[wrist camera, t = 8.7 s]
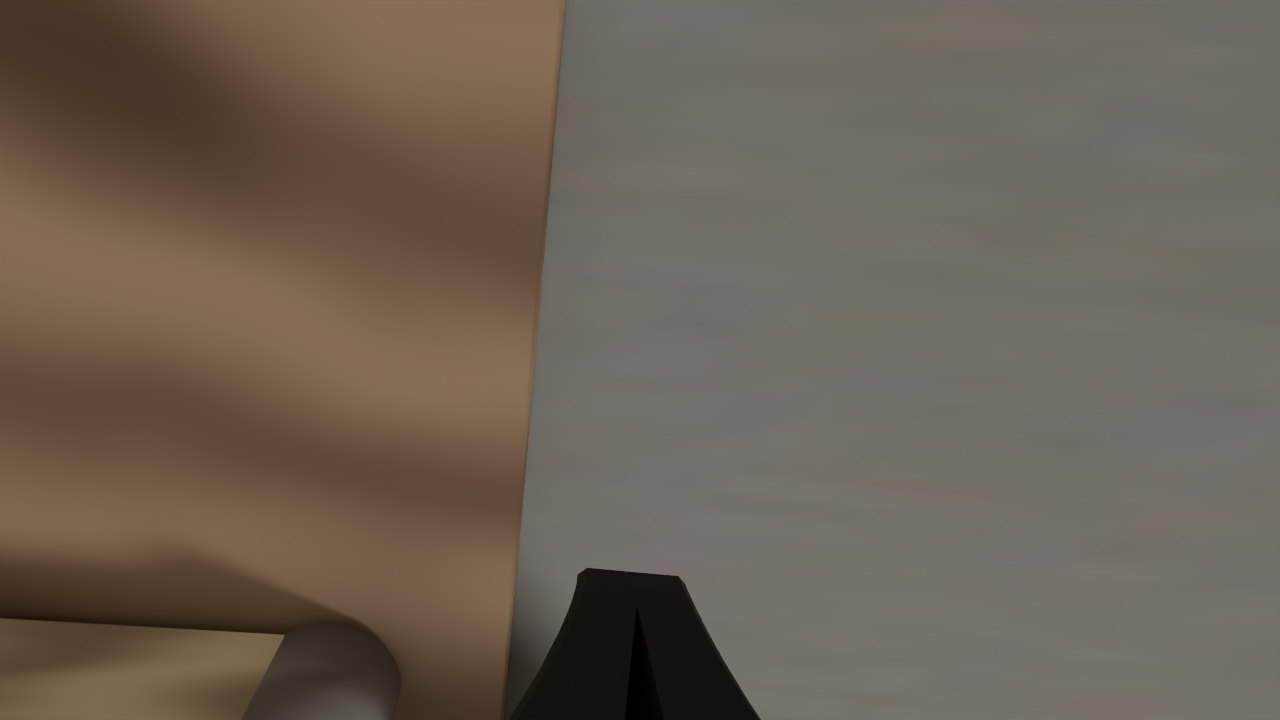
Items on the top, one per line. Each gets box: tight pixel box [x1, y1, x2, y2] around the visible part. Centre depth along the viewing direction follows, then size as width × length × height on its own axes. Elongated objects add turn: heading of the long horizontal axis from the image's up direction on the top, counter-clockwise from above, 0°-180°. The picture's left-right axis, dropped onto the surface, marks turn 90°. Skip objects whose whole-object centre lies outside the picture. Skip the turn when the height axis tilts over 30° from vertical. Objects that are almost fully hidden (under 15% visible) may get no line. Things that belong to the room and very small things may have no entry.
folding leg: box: [0, 618, 401, 720], centre depth 20 cm, size 15×3×3 cm, turn 85°
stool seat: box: [0, 0, 566, 720], centre depth 18 cm, size 20×20×5 cm
